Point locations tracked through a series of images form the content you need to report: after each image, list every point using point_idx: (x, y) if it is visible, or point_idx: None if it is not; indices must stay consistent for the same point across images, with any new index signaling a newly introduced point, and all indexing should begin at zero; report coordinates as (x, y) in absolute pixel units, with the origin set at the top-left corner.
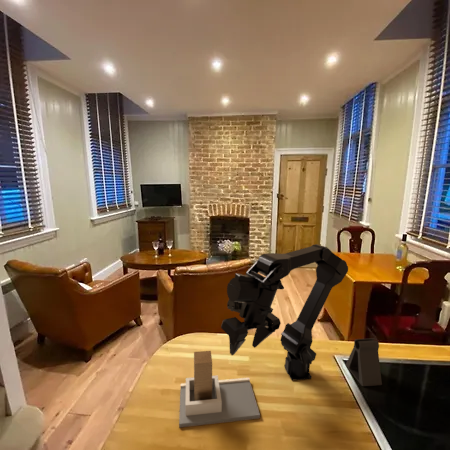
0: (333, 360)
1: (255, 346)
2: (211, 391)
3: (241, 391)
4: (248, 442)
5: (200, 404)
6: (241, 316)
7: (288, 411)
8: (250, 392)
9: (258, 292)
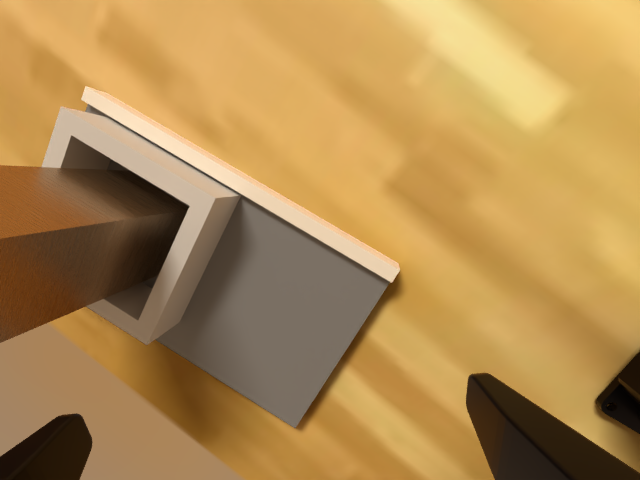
0: None
1: (477, 431)
2: (110, 293)
3: (310, 301)
4: (209, 442)
5: None
6: None
7: (415, 473)
8: (341, 332)
9: None
